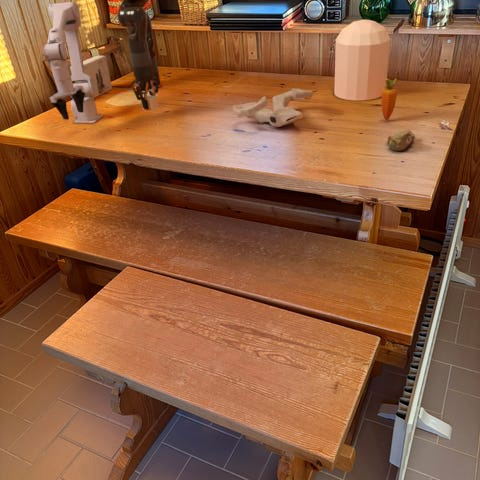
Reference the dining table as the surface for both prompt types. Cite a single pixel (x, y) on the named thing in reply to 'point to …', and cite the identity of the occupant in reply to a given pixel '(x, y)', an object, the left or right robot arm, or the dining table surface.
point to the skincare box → (98, 73)
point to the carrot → (388, 99)
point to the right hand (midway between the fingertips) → (150, 106)
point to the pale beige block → (151, 102)
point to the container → (361, 61)
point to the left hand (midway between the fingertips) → (73, 115)
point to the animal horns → (280, 112)
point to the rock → (400, 140)
